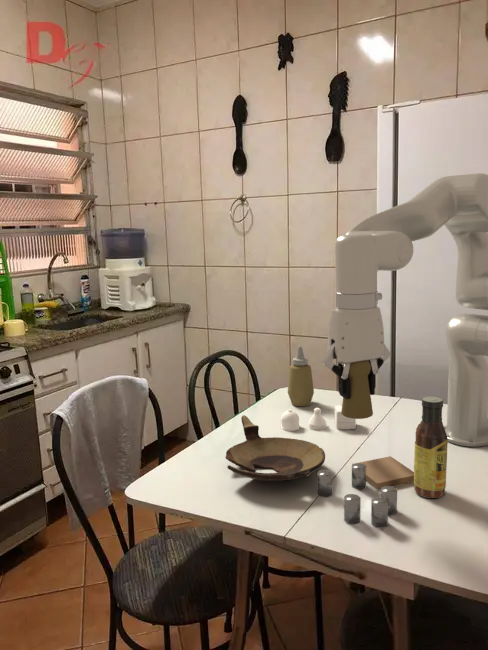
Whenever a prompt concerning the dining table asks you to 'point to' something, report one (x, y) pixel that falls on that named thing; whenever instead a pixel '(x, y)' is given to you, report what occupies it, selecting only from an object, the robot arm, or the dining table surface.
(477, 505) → the dining table surface
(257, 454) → the broken ceramic bowl
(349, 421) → the container set
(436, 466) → the sauce bottle
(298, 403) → the squeeze bottle
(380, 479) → the walnut board
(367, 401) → the olive pawn
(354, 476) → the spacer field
